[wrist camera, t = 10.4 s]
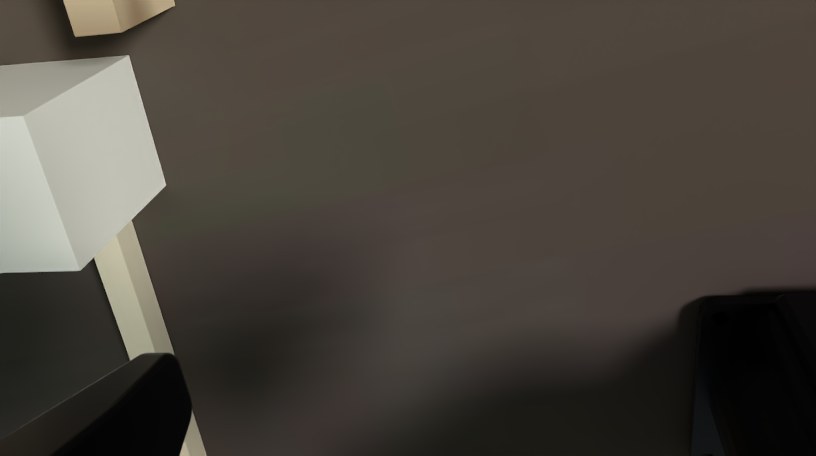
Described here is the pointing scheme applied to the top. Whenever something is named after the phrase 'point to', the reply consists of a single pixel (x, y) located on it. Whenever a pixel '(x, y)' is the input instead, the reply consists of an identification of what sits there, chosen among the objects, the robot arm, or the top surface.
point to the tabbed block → (82, 187)
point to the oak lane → (111, 14)
